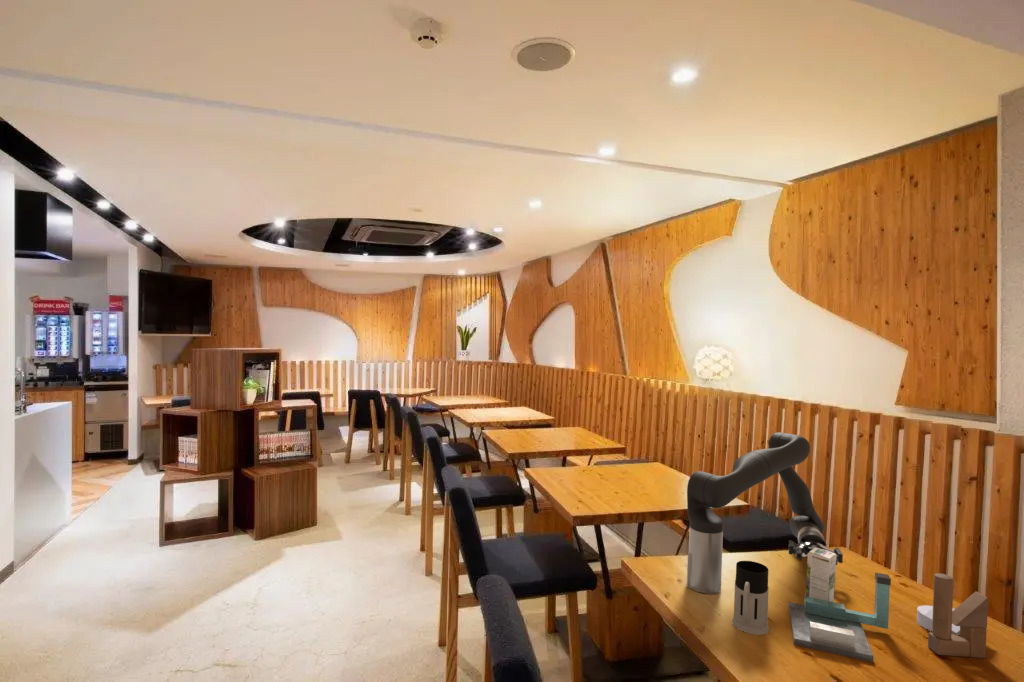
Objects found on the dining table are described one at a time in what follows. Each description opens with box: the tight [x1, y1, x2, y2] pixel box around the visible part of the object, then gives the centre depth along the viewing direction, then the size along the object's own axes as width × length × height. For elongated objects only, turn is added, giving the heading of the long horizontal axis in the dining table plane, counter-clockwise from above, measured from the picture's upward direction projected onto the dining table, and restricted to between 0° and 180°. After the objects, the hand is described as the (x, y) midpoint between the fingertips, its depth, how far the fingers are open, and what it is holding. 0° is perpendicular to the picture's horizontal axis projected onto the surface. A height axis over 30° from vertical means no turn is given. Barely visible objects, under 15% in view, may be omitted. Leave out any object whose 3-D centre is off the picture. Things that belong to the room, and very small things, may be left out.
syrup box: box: [805, 548, 837, 602], centre depth 150 cm, size 6×6×14 cm
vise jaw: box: [803, 572, 892, 630], centre depth 139 cm, size 18×3×13 cm, turn 66°
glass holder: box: [731, 560, 770, 636], centre depth 135 cm, size 9×14×15 cm, turn 148°
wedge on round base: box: [916, 605, 960, 636], centre depth 138 cm, size 9×7×13 cm
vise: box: [788, 601, 874, 663], centre depth 135 cm, size 16×20×4 cm
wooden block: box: [927, 573, 989, 659], centre depth 128 cm, size 4×11×18 cm, turn 87°
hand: (817, 560), depth 158 cm, fingers open, 8 cm apart
